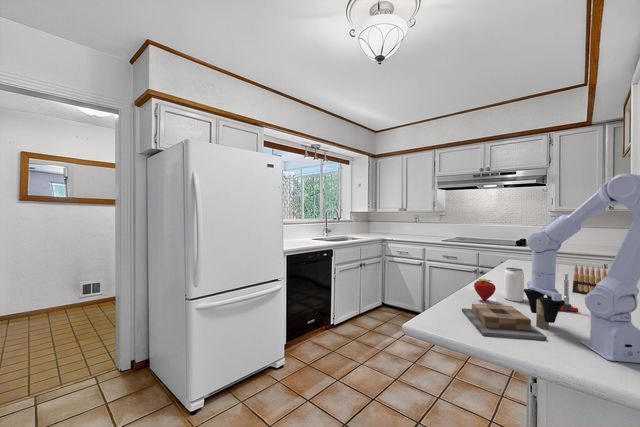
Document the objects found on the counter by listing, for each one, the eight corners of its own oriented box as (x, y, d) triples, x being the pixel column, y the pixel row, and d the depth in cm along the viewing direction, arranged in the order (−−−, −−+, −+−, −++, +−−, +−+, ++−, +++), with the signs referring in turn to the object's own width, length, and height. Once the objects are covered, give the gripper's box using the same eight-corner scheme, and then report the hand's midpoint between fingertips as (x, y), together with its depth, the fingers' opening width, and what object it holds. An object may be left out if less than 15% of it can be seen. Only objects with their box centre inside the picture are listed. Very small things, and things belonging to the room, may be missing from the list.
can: (504, 300, 115) (505, 269, 114) (503, 296, 120) (503, 266, 120) (524, 303, 112) (525, 271, 111) (522, 298, 117) (523, 268, 117)
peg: (550, 329, 87) (551, 302, 87) (539, 328, 88) (540, 301, 88) (545, 325, 90) (545, 299, 90) (534, 324, 91) (534, 298, 91)
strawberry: (492, 304, 109) (492, 277, 109) (471, 299, 115) (471, 274, 115) (497, 301, 113) (498, 275, 113) (477, 297, 119) (477, 272, 119)
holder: (546, 340, 80) (546, 325, 80) (482, 335, 83) (482, 321, 83) (512, 314, 100) (512, 302, 100) (461, 311, 103) (461, 299, 102)
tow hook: (539, 304, 112) (554, 311, 103) (539, 269, 112) (554, 274, 103) (563, 305, 111) (581, 312, 102) (563, 270, 111) (581, 275, 102)
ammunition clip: (572, 292, 126) (572, 264, 126) (573, 291, 127) (573, 263, 127) (606, 298, 118) (607, 268, 118) (607, 297, 119) (608, 268, 119)
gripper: (517, 267, 97) (516, 308, 97) (541, 277, 82) (540, 325, 83) (541, 268, 95) (540, 309, 96) (570, 278, 81) (569, 327, 81)
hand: (542, 317), depth 89 cm, fingers open, 7 cm apart
